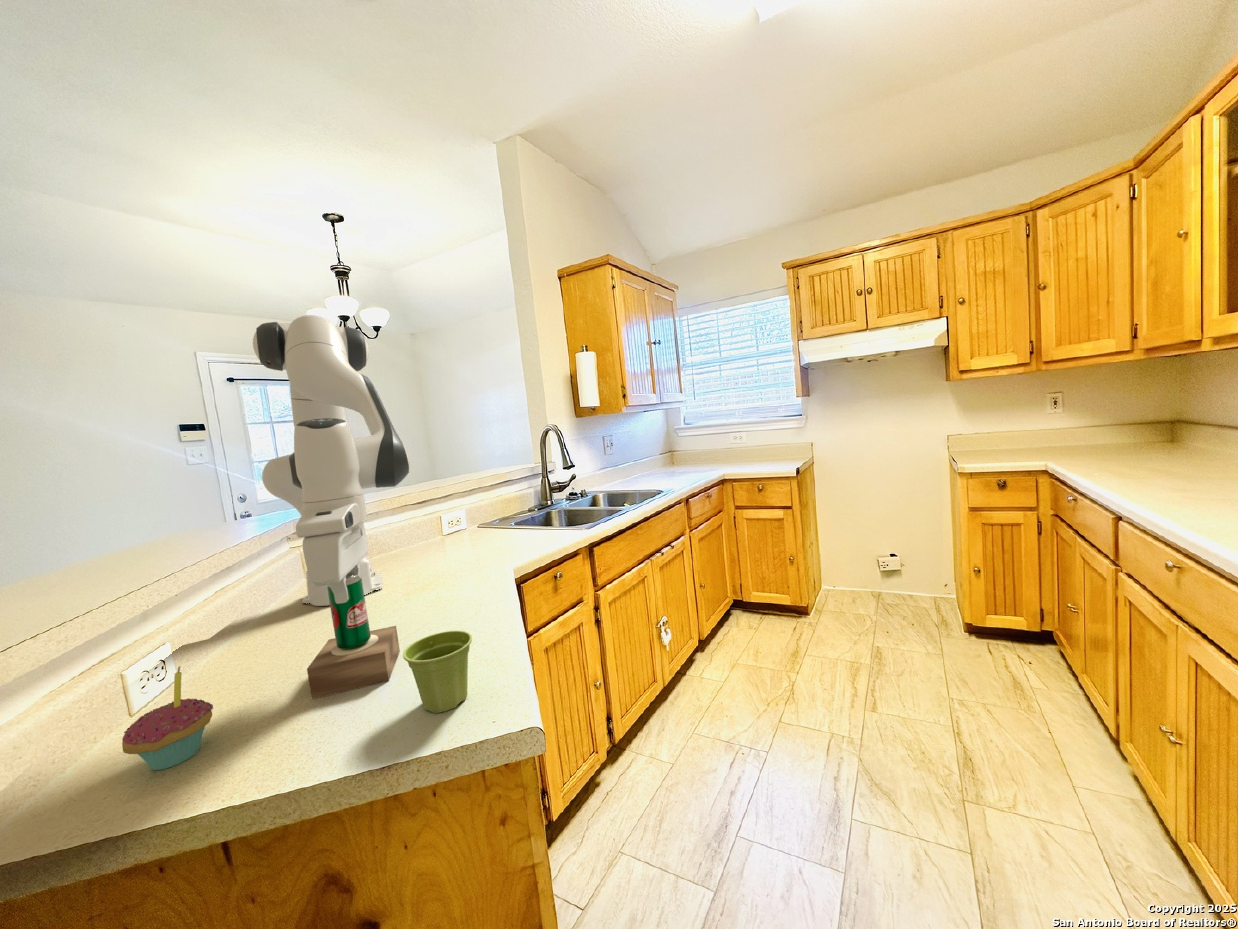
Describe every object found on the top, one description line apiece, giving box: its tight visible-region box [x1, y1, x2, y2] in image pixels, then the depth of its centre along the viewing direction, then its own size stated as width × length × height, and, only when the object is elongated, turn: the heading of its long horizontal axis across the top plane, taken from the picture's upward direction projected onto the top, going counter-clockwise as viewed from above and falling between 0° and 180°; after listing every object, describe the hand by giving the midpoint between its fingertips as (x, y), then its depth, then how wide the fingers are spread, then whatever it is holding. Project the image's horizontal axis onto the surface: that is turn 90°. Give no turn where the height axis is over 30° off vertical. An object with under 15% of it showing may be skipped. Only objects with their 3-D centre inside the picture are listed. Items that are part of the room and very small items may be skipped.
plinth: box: [306, 625, 401, 700], centre depth 77 cm, size 11×11×5 cm
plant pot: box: [402, 630, 473, 713], centre depth 66 cm, size 9×9×9 cm
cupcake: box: [121, 665, 214, 771], centre depth 59 cm, size 9×8×12 cm
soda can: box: [327, 572, 371, 650], centre depth 77 cm, size 5×5×12 cm
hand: (348, 595), depth 76 cm, fingers closed on soda can, 5 cm apart
